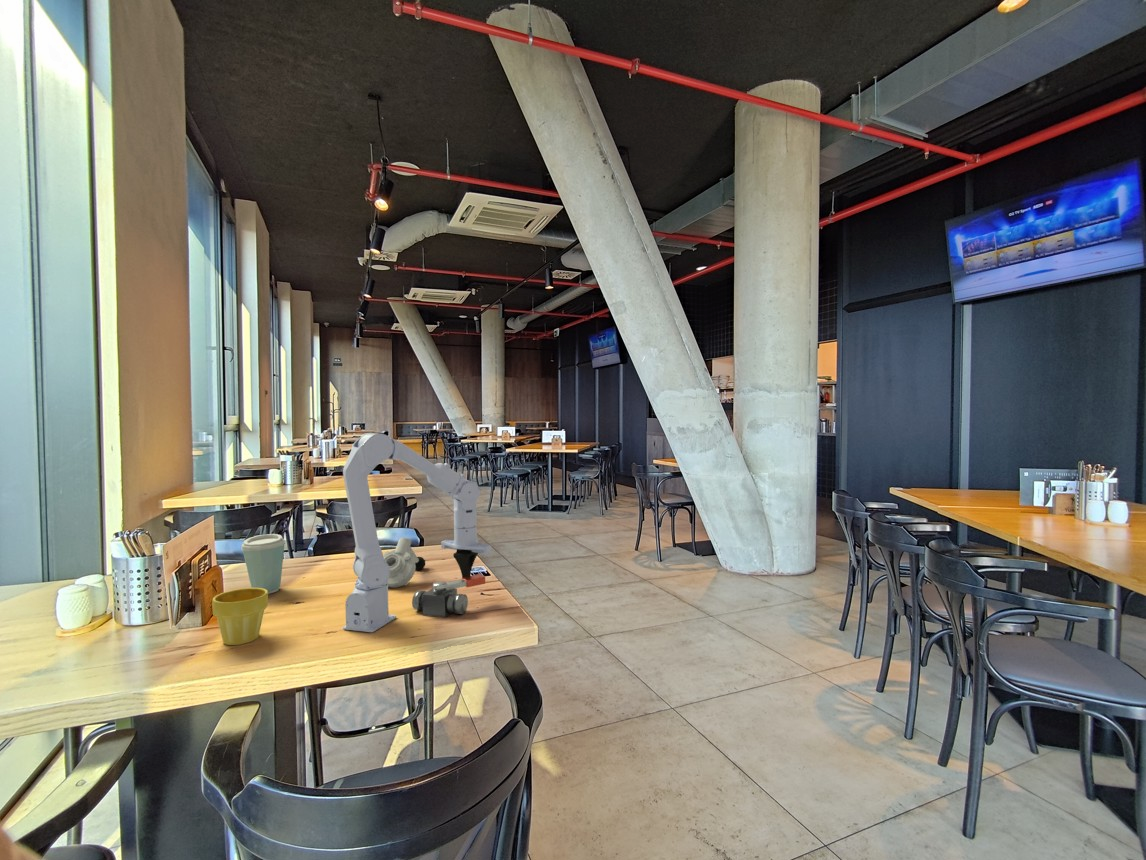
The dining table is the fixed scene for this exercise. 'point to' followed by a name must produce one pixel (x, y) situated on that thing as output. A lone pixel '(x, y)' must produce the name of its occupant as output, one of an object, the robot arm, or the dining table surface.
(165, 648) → the dining table surface
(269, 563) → the disposable coffee cup
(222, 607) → the plant pot
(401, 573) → the grey rounded housing
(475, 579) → the valve lever
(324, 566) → the dining table surface
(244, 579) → the dining table surface
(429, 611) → the pipe valve
